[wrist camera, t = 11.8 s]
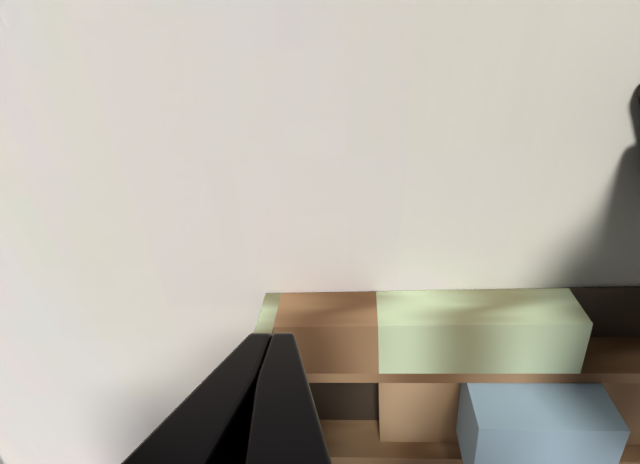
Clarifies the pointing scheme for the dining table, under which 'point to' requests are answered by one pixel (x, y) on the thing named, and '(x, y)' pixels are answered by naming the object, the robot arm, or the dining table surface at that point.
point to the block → (539, 424)
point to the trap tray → (451, 359)
